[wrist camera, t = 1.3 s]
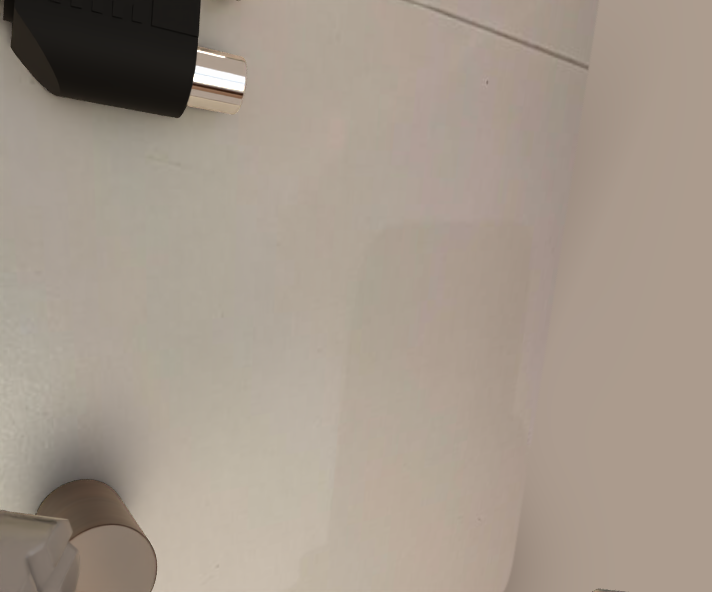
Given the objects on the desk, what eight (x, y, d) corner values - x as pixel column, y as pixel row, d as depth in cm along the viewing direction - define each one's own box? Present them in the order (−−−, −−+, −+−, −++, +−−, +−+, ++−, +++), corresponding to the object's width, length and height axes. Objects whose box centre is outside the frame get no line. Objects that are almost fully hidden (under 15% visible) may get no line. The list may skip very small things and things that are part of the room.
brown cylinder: (47, 579, 35) (62, 651, 27) (22, 498, 34) (31, 551, 27) (133, 543, 37) (168, 601, 30) (111, 466, 36) (142, 507, 29)
